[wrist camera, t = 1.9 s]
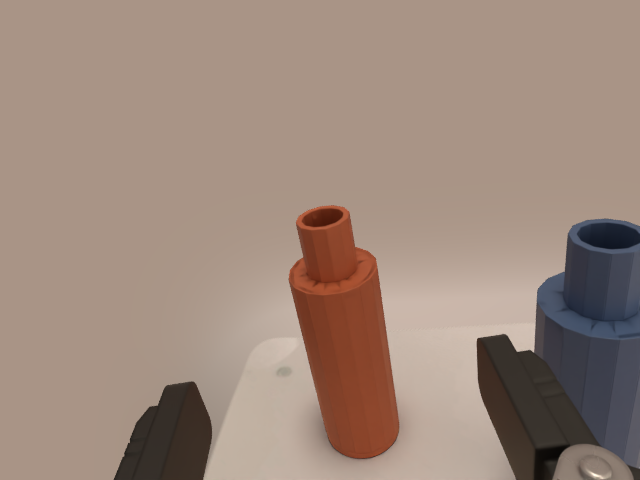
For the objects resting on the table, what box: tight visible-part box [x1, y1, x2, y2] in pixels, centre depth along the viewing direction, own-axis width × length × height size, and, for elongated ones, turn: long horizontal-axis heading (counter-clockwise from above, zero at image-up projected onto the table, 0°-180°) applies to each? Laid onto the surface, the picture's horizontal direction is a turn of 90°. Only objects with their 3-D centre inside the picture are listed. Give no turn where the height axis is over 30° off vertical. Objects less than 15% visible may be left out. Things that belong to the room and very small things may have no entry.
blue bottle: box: [534, 219, 640, 469], centre depth 21 cm, size 5×5×15 cm
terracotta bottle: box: [289, 205, 399, 458], centre depth 27 cm, size 5×5×15 cm
